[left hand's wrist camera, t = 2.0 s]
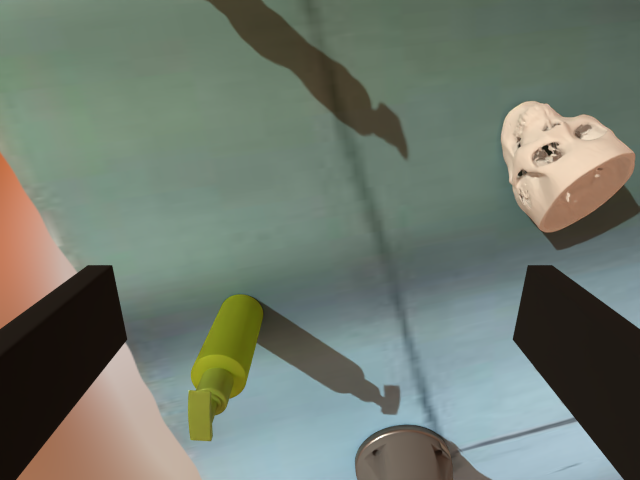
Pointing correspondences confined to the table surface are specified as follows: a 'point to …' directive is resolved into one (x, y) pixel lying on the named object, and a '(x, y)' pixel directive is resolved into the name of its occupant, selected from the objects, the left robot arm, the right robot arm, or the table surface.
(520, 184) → the skull bowl
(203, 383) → the soap dispenser
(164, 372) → the table surface
